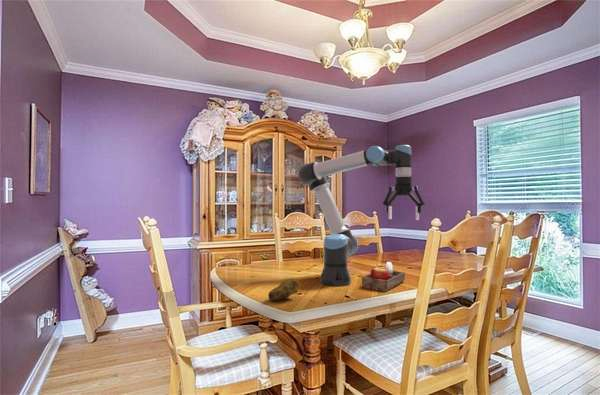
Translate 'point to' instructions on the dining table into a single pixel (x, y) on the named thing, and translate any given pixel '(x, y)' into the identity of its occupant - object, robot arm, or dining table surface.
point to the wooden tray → (383, 281)
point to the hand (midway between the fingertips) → (403, 219)
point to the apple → (379, 273)
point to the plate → (389, 268)
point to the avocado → (284, 290)
